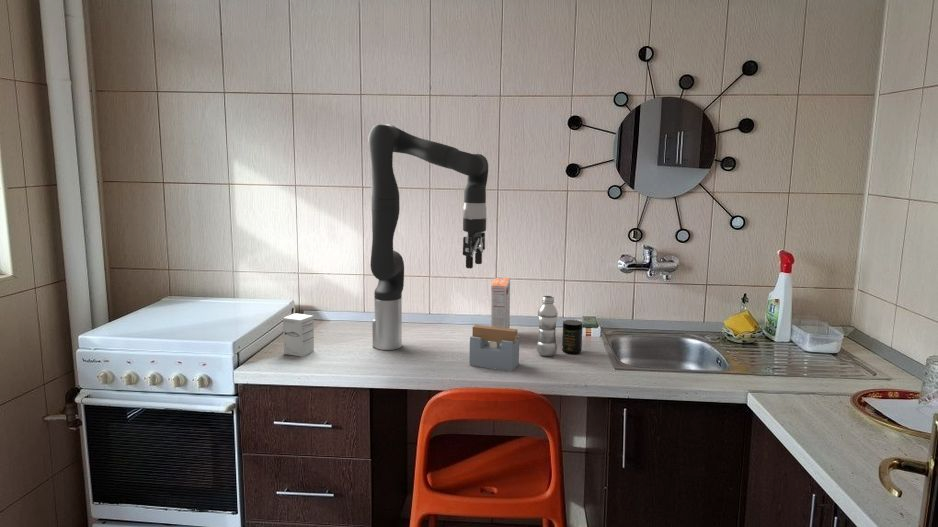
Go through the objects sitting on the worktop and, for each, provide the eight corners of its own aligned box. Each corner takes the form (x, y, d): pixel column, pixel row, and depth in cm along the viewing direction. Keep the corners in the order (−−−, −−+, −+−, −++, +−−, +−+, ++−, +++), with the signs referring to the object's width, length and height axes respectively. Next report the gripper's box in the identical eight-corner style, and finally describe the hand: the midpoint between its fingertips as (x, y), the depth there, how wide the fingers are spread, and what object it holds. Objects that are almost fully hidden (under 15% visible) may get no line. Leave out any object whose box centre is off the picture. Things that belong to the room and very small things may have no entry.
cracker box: (493, 332, 257) (494, 277, 254) (509, 332, 257) (511, 277, 253) (489, 342, 244) (490, 284, 240) (506, 343, 243) (508, 285, 239)
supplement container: (583, 355, 230) (584, 325, 229) (562, 354, 231) (563, 324, 229) (580, 349, 237) (581, 320, 235) (560, 349, 237) (561, 319, 235)
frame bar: (472, 339, 219) (472, 326, 219) (475, 336, 222) (475, 324, 222) (514, 343, 215) (514, 331, 214) (517, 341, 217) (517, 329, 217)
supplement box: (283, 354, 227) (281, 317, 225) (296, 348, 234) (295, 312, 232) (301, 357, 224) (300, 319, 222) (315, 351, 231) (314, 314, 229)
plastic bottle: (555, 358, 226) (558, 299, 223) (535, 357, 227) (537, 298, 224) (557, 353, 232) (559, 295, 229) (537, 351, 234) (539, 294, 230)
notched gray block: (469, 365, 218) (469, 337, 217) (478, 358, 226) (478, 331, 224) (511, 371, 214) (512, 342, 212) (518, 363, 221) (519, 335, 219)
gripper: (471, 214, 229) (470, 261, 232) (455, 218, 216) (455, 268, 219) (492, 215, 227) (491, 263, 230) (477, 219, 214) (477, 270, 217)
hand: (473, 266), depth 224 cm, fingers open, 8 cm apart
